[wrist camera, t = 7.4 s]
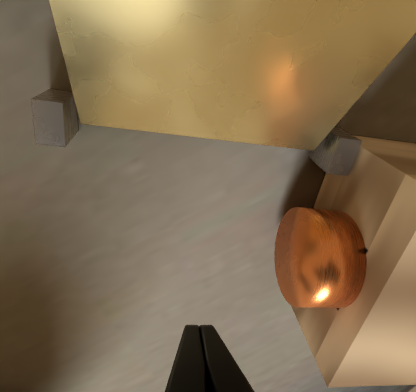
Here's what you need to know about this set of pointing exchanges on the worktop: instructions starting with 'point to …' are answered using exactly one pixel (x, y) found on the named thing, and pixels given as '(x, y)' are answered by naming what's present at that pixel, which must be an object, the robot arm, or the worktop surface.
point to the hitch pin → (319, 258)
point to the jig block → (372, 272)
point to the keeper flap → (228, 63)
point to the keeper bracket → (68, 126)
